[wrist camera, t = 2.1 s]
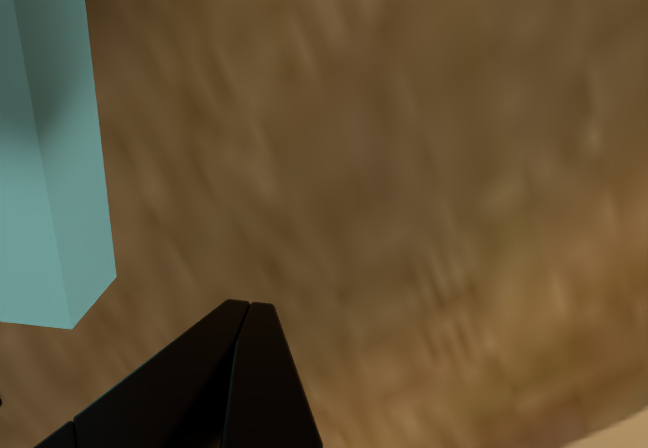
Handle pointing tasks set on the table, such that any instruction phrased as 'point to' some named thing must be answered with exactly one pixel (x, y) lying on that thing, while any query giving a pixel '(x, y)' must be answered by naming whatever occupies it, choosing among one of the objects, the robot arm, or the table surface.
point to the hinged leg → (50, 167)
